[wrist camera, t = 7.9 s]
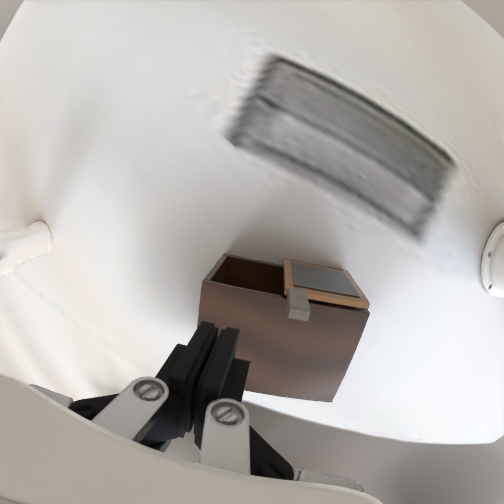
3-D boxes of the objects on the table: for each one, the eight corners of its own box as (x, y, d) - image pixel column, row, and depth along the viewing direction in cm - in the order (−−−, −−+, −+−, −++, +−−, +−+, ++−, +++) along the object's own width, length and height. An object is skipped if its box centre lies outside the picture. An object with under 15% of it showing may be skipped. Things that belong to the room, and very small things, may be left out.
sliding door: (284, 257, 33) (286, 306, 20) (348, 270, 33) (384, 322, 20) (282, 264, 33) (283, 317, 20) (346, 276, 33) (380, 332, 20)
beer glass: (34, 257, 38) (-25, 283, 24) (29, 219, 37) (-34, 237, 22) (56, 258, 38) (-8, 287, 23) (51, 217, 36) (-18, 236, 22)
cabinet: (223, 253, 34) (202, 281, 25) (347, 278, 34) (370, 313, 24) (212, 334, 38) (192, 378, 28) (322, 354, 37) (331, 402, 27)
